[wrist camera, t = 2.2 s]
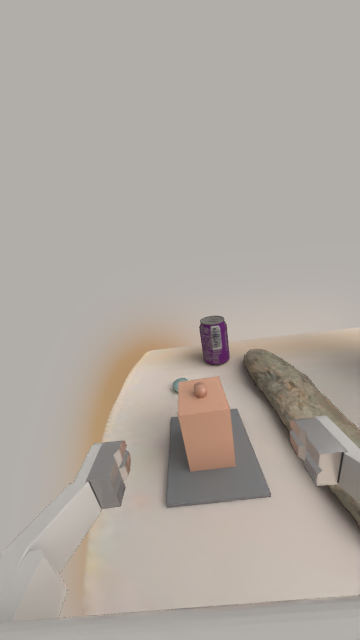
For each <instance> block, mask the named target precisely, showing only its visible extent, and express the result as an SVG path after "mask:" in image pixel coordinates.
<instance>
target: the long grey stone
mask: <svg viewBox="0 0 360 640" xmlns="http://www.w3.org/2000/svg"><path fill="white" fill-rule="evenodd" d="M244 364H245V366H246V368H247V369H248V372H249V373H250V375H251V378H252V379H254V381H255V383H256V384H255V385H256V386H258V387H259V389H260V391H262V392H263V393H264V394H265V396H266V398H267V400H268V401H269V403H270V404H271V405H272V406H273V407H274V409H275V410H276V411H277V413H278V415H279V417H280V418H281V420H282V422H283V424H284V425H286V427H287V429H288V431H289V432H291V431H292V428H291V426H290V421H291V420H292V419H299V418H306V417H316V416H324V415H325V416H327V417H328V418H329V419H330V420H331V421H332V422H333V423H334V424H335V425H336V426H337V427H338V428H339V429H340V430H341V431H342V432H343V433H344V434H345V435H346V436H347V437H348V438H349V439H350V440H351V441H352V442H353V443H354V444H355V445H356V446H357V447H358V448H359V449H360V430H359V429H358V428H357V427H356V426H355V424H353V423H351V422H350V421H349V420H348V419H347V418H346V417H345V416H344V415H343V414H342V413H341V412H340V411H339V410H338V409H337V408H336V407H335V406H334V405H333V404H332V403H331V401H329V399H328V398H327V397H325V396H324V395H323V394H322V393H320V391H318V390H317V389H316V387H315V385H314V384H313V383H312V382H311V380H310V379H309V378H308V377H307V376H306V375H304V374H302V373H301V372H299V371H298V370H296V369H295V368H294V366H291V365H290V364H288V362H285V361H284V360H283V359H281V358H279V357H277V356H276V355H274V354H272V353H270V352H268V351H266V350H263V349H252V350H249V351H248V352H247V354H246V355H244ZM338 485H339V484H335V485H328V486H329V487H330V489H331V491H332V492H333V493H334V494H336V496H337V497H338V499H339V500H340V501H341V503H342V504H343V505H344V507H345V508H346V509H347V510H348V511H349V512H350V513H351V514H352V516H353V517H354V519H355V520H356V521H357V523H358V526H359V527H360V503H359V502H358V501H356V500H355V499H354V498H353V497H351V496H350V495H349V494H348V493H347V492H345V491H344V490H343V489H342V488H341V487H339V486H338Z"/></svg>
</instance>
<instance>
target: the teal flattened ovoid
mask: <svg viewBox="0 0 360 640" xmlns="http://www.w3.org/2000/svg"><path fill="white" fill-rule="evenodd" d="M183 381H188V380H187V379H185V378H180V379H177V380H176V381H174V383H173V386H174V390H175V391H176V392H177V393H178V388H179V382H183Z"/></svg>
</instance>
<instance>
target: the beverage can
mask: <svg viewBox="0 0 360 640" xmlns="http://www.w3.org/2000/svg"><path fill="white" fill-rule="evenodd" d="M200 322H201V324H200V327H199V328H200V335H201V343H202V350H203V357H204V360H205V361H206V362H207V363H210V364H222V363H225V362H226V361H228V360H229V346H228V335H227V325H226V323H225V321H224V318H223V317H221V316H209V317H205V318H203V319H201V320H200Z"/></svg>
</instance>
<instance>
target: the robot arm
mask: <svg viewBox="0 0 360 640" xmlns="http://www.w3.org/2000/svg"><path fill="white" fill-rule="evenodd" d="M290 426H291V428H292V431H291V432H290V441H291V444H292V447H293V449H294V451H295V452H296V454H297V456H298V457H299V458H301V459H302V460H304V461H305V468H306V470H307V472H308V473H309V475H310V476H311V478H312V480H313V481H314V483H315V484H316V486H321V485H335V484H339V485H338V486H339V487H341V488H342V489H343V490H344V491H345V492H347V493H348V494H349V495H350V496H351V497H353V498H354V499H355V500H356V501H358V502H359V503H360V449H359V448H358V447H357V446H356V445H355V444H354V443H353V442H352V441H351V440H350V439H349V438H348V437H347V436H346V435H345V434H344V433H343V432H342V431H341V430H340V429H339V428H338V427H337V426H336V425H335V424H334V423H333V422H332V421H331V420H330V419H329V418H328V417H327V416H325V415H324V416H316V417H306V418H299V419H292V420H291V421H290ZM126 446H127V445H126V443H125V441H115V442H104V443H95V444H93V445H92V447H91V448H90V450H89V452H88V454H87V456H86V458H85V460H84V462H83V464H82V466H81V468H80V470H79V472H78V474H77V476H76V478H75V480H74V482H73V483H70V484H69V485H68V486H67V487H66V488H65V489H64V490H63V491H62V492H61V493H60V494H59V495H58V496H57V497H56V498H55V499H54V500H53V501H52V502H51V503H50V504H49V505H48V506H47V507H46V508H45V509H44V510H43V511H42V512H41V513H40V514H39V515H38V516H37V517H36V519H34V521H32V522H31V523H30V524H29V525H28V526H27V527H26V528H25V529H24V530H23V532H21V534H20V535H18V537H17V538H15V539H14V540H13V542H12V543H11V544H10V545H9V546H8V547H7V548H6V549H5V550H4V551H3V552H2V553H1V555H0V640H360V595H355V596H342V597H328V598H315V599H302V600H289V601H276V602H262V603H249V604H236V605H223V606H209V607H196V608H183V609H170V610H157V611H143V612H130V613H117V614H104V615H90V616H77V617H64V618H59V615H60V612H61V609H62V606H63V603H64V600H65V597H66V594H67V591H68V589H67V584H66V583H65V582H64V580H63V579H62V577H61V576H60V573H61V571H62V570H63V568H64V567H65V565H66V564H67V562H68V561H69V559H70V558H71V556H72V555H73V553H74V552H75V550H76V549H77V547H78V546H79V544H80V543H81V541H82V540H83V538H84V537H85V535H86V534H87V532H88V531H89V529H90V528H91V526H92V525H93V523H94V522H95V520H96V519H97V517H98V516H99V514H100V513H101V511H102V510H101V509H105V508H112V507H120V506H121V503H122V499H123V495H124V491H125V484H124V481H125V479H126V478H127V477H128V475H129V471H130V463H131V459H130V454H129V452H128V451H127V450H125V449H126Z"/></svg>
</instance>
